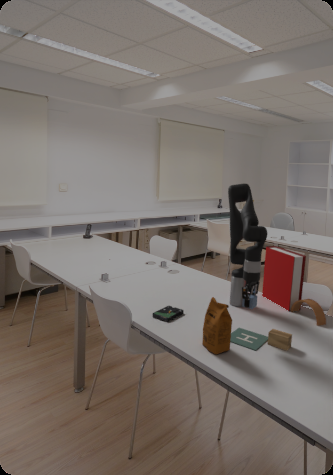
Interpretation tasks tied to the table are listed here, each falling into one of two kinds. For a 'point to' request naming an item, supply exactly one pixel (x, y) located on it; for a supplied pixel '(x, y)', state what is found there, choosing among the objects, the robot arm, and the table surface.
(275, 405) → the table surface
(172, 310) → the disk drive
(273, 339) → the block
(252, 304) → the blue cube
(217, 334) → the coffee package
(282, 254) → the book
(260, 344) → the letter board
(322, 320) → the arch
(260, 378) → the table surface
